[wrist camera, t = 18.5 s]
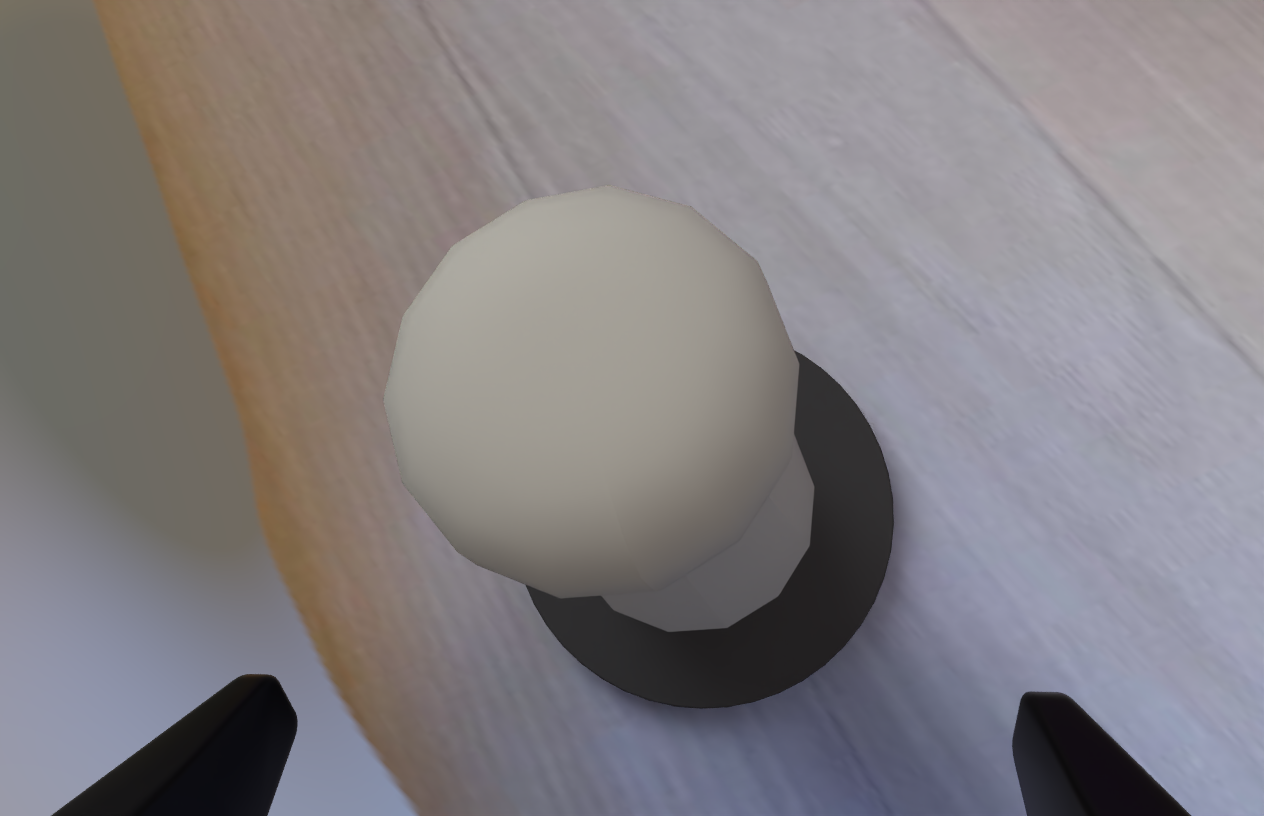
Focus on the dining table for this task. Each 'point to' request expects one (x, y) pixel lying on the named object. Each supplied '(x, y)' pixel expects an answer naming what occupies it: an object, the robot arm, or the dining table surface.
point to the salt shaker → (607, 409)
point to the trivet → (784, 627)
